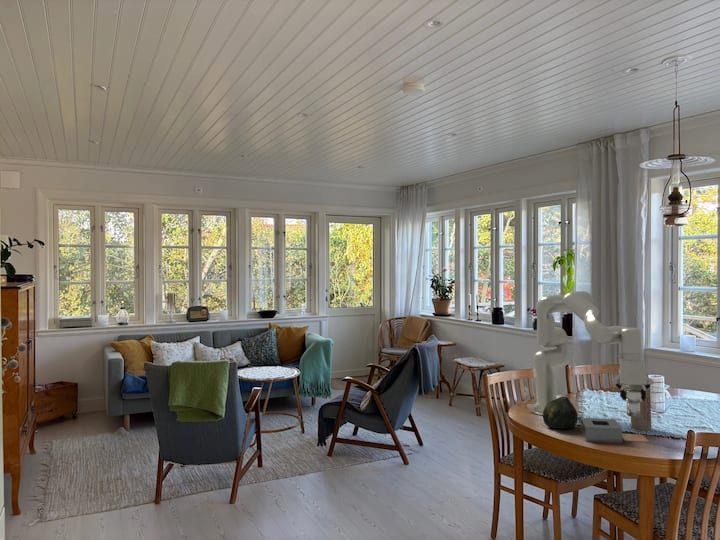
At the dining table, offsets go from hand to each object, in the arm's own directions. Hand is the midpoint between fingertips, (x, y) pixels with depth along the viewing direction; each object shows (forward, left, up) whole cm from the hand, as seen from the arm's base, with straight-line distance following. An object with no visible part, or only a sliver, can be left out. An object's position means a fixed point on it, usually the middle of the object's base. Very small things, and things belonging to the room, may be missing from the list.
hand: (633, 399), depth 224 cm
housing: (-13, -1, -16) cm, 21 cm away
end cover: (0, 0, -7) cm, 7 cm away
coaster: (0, 0, -16) cm, 16 cm away
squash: (-28, +11, -17) cm, 35 cm away
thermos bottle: (+6, +14, -17) cm, 23 cm away
